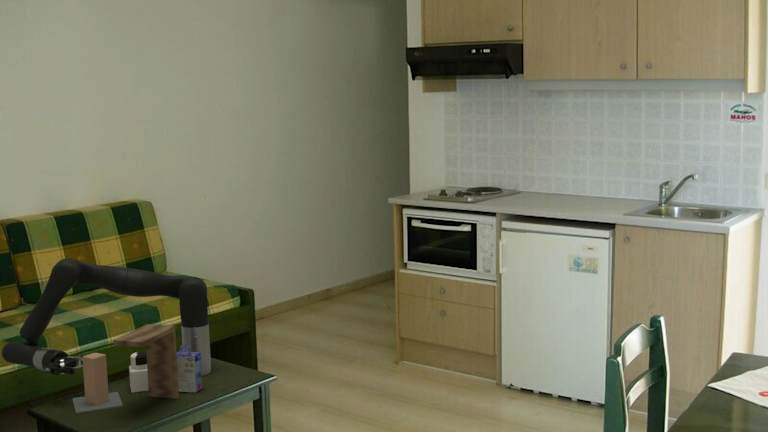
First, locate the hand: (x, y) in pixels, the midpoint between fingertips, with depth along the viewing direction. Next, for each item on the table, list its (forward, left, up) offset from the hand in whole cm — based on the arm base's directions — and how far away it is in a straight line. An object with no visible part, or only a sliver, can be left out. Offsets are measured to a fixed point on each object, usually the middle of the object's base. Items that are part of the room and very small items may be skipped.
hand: (84, 367), depth 291 cm
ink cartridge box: (+3, +31, -11) cm, 33 cm away
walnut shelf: (+13, +17, -11) cm, 25 cm away
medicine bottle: (-5, +18, -11) cm, 22 cm away
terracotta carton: (+4, +3, -10) cm, 11 cm away
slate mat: (+4, +3, -11) cm, 12 cm away
